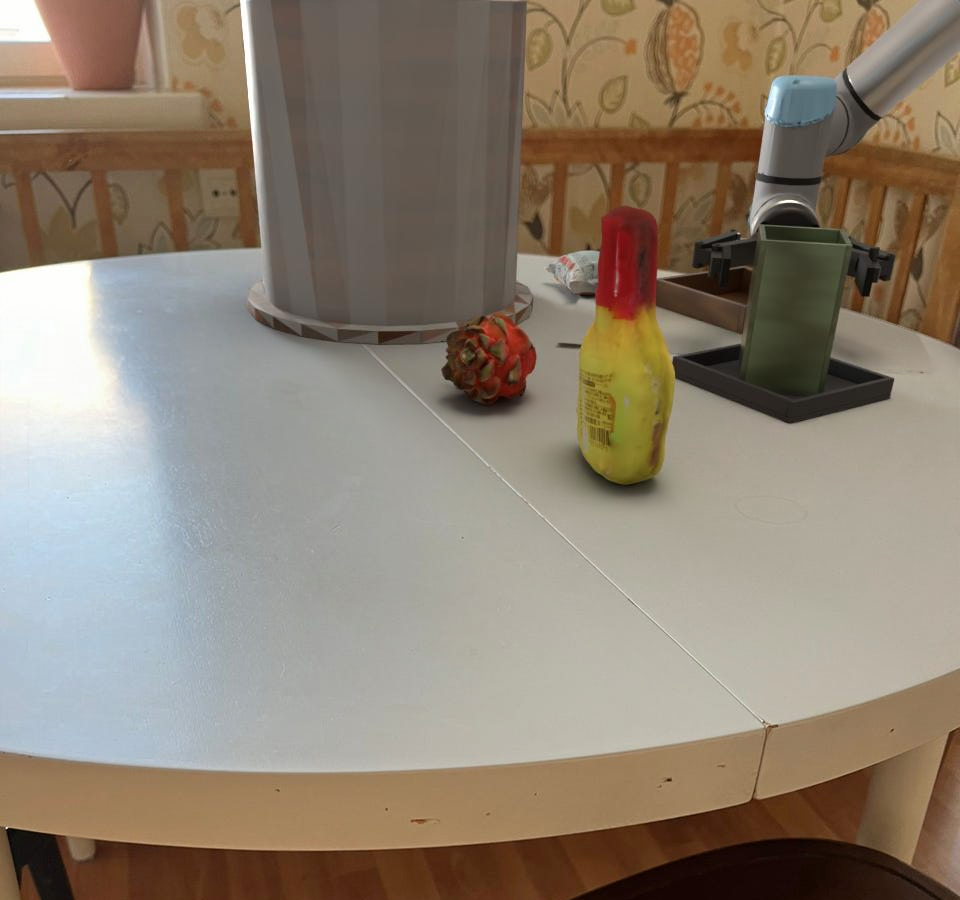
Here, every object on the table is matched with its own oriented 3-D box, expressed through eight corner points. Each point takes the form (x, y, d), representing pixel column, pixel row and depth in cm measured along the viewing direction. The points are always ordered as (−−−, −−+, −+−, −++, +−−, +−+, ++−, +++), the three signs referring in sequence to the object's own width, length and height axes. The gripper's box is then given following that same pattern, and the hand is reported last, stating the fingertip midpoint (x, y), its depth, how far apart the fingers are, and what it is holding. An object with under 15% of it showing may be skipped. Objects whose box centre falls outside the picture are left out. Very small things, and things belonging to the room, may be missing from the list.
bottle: (555, 443, 90) (570, 195, 80) (625, 439, 92) (649, 193, 81) (599, 499, 80) (623, 224, 70) (677, 493, 82) (712, 222, 71)
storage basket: (311, 360, 109) (287, -4, 92) (210, 286, 135) (178, -9, 118) (588, 322, 124) (612, 3, 107) (450, 262, 150) (452, -2, 133)
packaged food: (567, 304, 131) (570, 263, 128) (543, 282, 141) (545, 244, 138) (633, 303, 133) (638, 263, 130) (604, 281, 142) (608, 244, 140)
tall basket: (816, 373, 107) (844, 229, 100) (822, 397, 101) (852, 245, 93) (737, 366, 109) (759, 224, 101) (737, 390, 102) (761, 240, 95)
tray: (890, 398, 103) (895, 378, 102) (790, 423, 96) (794, 402, 95) (767, 355, 114) (770, 337, 113) (670, 375, 107) (672, 356, 106)
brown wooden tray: (832, 321, 127) (838, 291, 125) (740, 339, 119) (745, 307, 117) (739, 293, 138) (743, 265, 136) (650, 308, 130) (653, 278, 128)
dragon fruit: (469, 436, 96) (488, 411, 107) (547, 386, 93) (559, 366, 104) (417, 355, 94) (441, 339, 104) (495, 301, 91) (512, 290, 102)
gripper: (891, 277, 120) (920, 325, 102) (671, 263, 124) (663, 307, 106) (906, 207, 116) (939, 245, 98) (679, 195, 120) (671, 229, 102)
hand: (796, 277), depth 102 cm, fingers open, 13 cm apart
